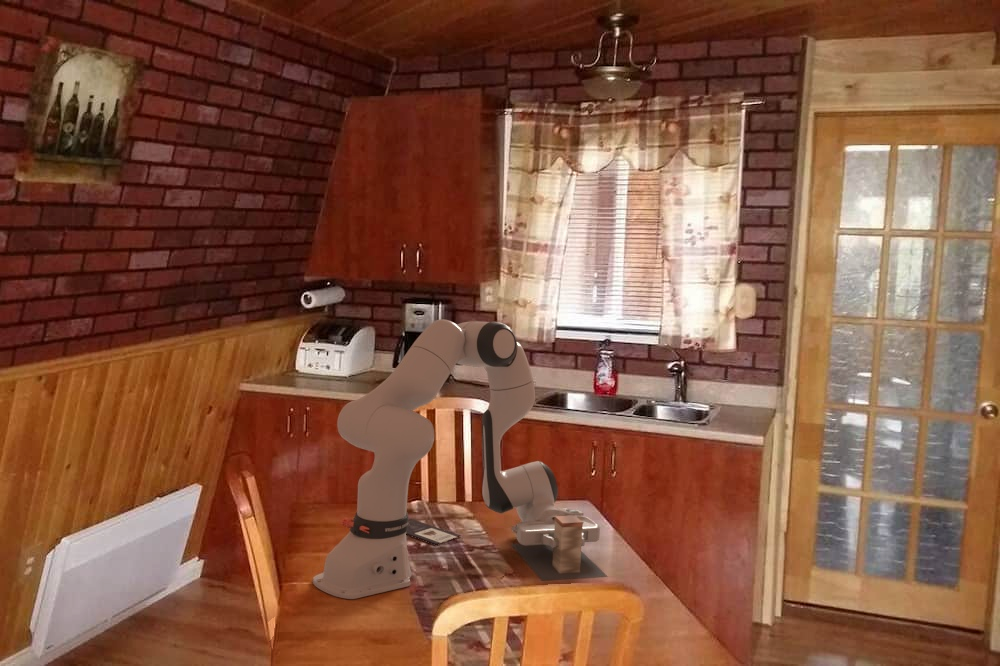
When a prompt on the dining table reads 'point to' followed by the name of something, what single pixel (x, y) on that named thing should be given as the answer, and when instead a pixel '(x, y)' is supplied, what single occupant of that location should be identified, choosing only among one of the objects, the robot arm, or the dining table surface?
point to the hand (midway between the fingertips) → (568, 543)
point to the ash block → (567, 544)
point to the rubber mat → (542, 563)
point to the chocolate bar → (428, 532)
